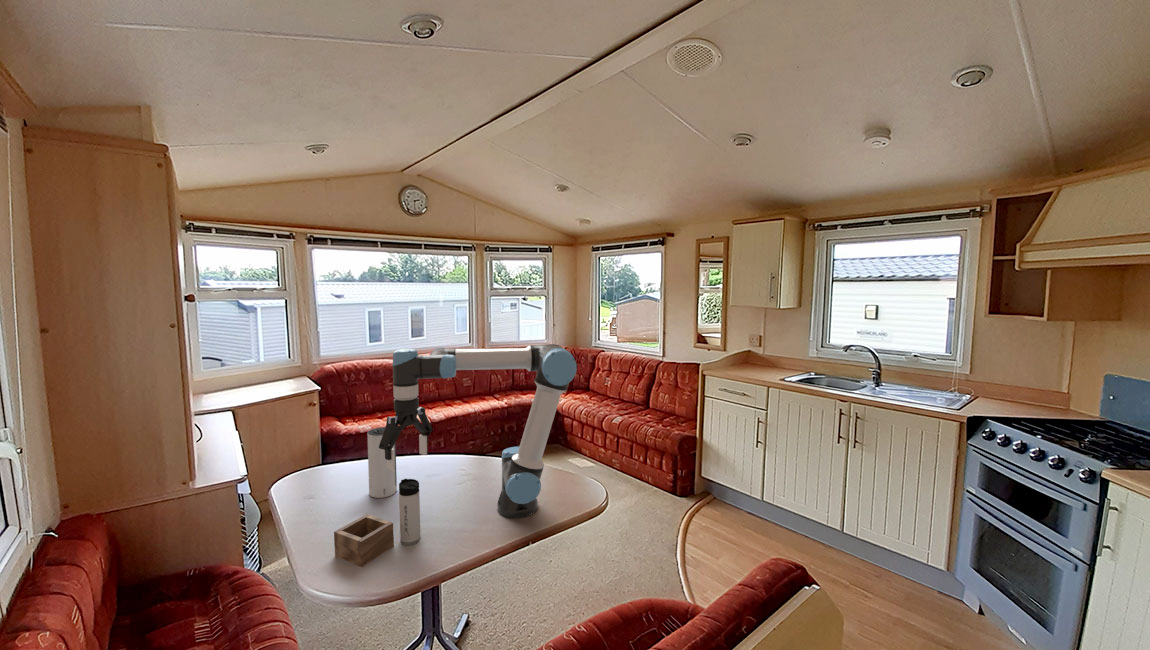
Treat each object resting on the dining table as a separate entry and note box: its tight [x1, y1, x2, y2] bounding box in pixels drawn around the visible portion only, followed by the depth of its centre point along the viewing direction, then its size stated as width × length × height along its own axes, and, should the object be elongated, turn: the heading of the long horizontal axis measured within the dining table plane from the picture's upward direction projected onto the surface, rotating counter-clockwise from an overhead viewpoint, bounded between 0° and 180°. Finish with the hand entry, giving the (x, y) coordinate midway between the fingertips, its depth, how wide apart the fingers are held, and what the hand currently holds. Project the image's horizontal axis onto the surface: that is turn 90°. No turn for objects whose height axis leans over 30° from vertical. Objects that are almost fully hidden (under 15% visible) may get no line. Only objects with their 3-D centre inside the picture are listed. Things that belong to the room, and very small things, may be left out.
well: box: [333, 513, 395, 568], centre depth 143 cm, size 12×12×8 cm
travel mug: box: [398, 478, 421, 546], centre depth 149 cm, size 6×7×20 cm
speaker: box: [366, 426, 398, 499], centre depth 182 cm, size 11×10×26 cm
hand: (407, 461), depth 148 cm, fingers open, 13 cm apart
